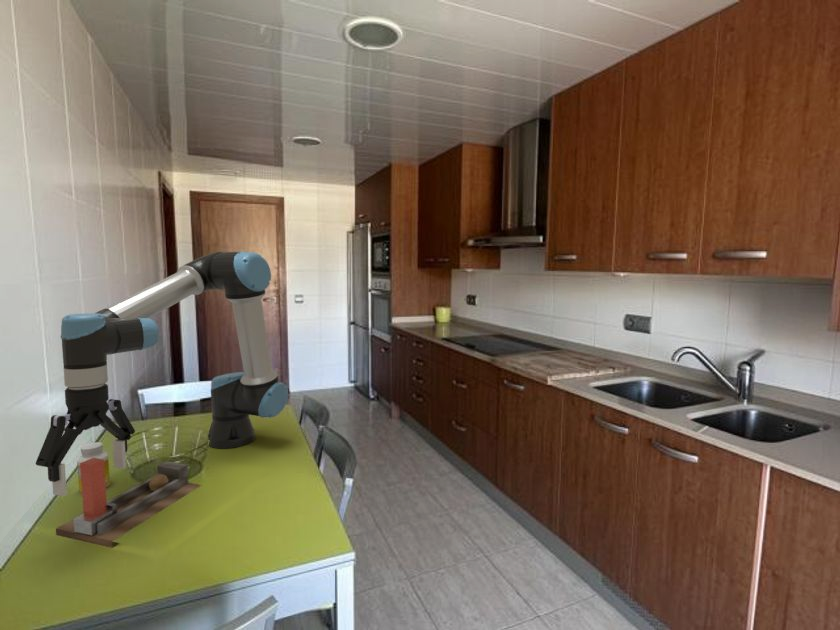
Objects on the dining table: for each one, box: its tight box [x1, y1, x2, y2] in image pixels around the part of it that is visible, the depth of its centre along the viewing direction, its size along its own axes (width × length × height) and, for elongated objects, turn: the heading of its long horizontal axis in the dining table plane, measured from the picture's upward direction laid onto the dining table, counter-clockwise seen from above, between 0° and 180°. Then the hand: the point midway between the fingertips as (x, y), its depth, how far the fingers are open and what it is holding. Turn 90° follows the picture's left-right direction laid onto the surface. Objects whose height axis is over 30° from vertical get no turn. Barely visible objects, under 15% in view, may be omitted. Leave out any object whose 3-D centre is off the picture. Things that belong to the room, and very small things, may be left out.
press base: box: [55, 461, 202, 549], centre depth 110 cm, size 26×16×6 cm, turn 164°
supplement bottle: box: [76, 441, 111, 494], centre depth 118 cm, size 7×7×13 cm
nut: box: [149, 474, 169, 492], centre depth 117 cm, size 4×4×4 cm
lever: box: [72, 458, 117, 535], centre depth 100 cm, size 6×5×15 cm
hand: (91, 480), depth 99 cm, fingers open, 13 cm apart
